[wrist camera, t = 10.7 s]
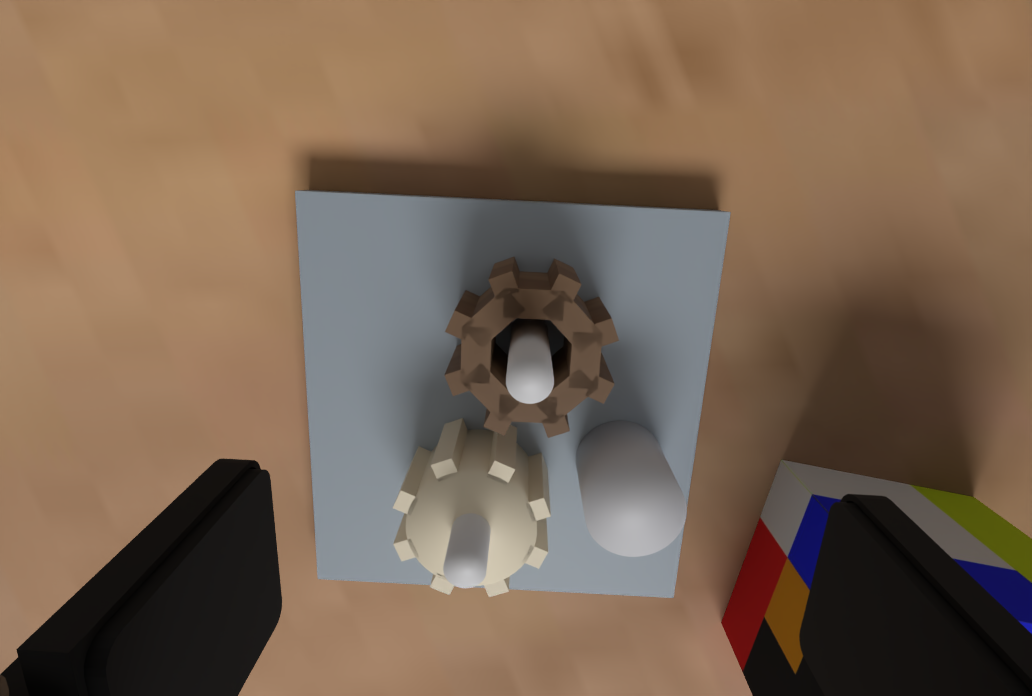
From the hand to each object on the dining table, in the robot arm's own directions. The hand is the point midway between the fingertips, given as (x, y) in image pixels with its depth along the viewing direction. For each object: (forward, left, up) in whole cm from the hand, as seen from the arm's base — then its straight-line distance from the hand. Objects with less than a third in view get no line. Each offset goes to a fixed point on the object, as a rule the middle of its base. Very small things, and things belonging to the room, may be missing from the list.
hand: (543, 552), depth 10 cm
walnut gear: (0, 0, -16) cm, 16 cm away
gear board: (+5, -1, -18) cm, 18 cm away
